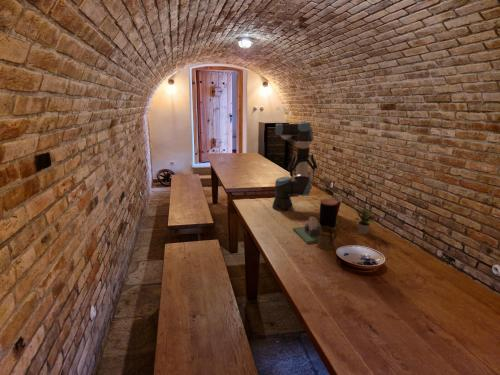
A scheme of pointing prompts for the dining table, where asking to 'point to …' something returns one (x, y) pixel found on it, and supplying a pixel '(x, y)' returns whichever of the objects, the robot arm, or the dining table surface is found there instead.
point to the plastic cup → (337, 203)
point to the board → (308, 233)
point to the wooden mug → (327, 237)
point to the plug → (312, 223)
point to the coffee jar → (328, 212)
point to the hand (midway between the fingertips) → (301, 179)
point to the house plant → (364, 221)
